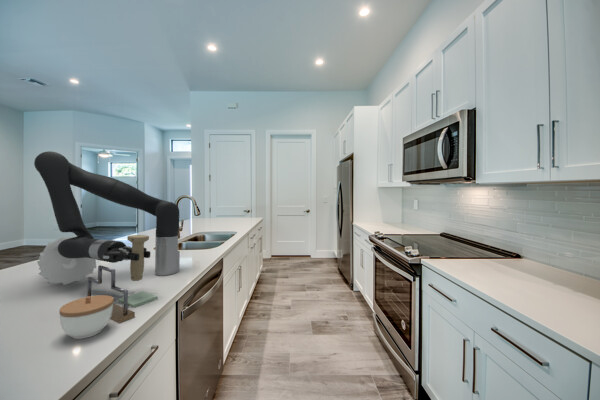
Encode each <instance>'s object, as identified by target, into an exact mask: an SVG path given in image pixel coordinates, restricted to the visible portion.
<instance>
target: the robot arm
mask: <svg viewBox="0 0 600 400" xmlns="http://www.w3.org/2000/svg"><path fill="white" fill-rule="evenodd" d="M33 164H34V165H33V166H34V168H35V170H36V171H37V172H38V173H39V175H40V176H41V178H42V180H43V182H44V184H45V187H46V189H47V192H48V195H49V198H50V202H51V206H52V209H53V213H54V217H55V221H56V224H57V227H58V230H59V232H61V233H73V234H74V236H77V237H73V238H69V239H65V240H63V241H62V242H60V244H59V245H58V252H59V253H60V255H62V256H63V257H66V258H86V257H87V258H92V259H96V261H99V262H101V261H102V262H105V263H106V262H107V263H114V264H115V263H119V262H123V261H131V260H134V261H138V260H139V254H137V253H132V246H127V245H126V243H125V242H123V241H121V240H113V239H100V238H99V239H98V238H94V236H93V235H92V234H91V232H90V231H89V229H88V227H86V224H85V223H84V220H83V217H82V214H81V210H80V208H79V205H78V202H77V200H76V198H75V194H74V193H73V191H72V186H74V187H77V188H78V189H79V188H80V189H82V190H84V191H85V192H88V193H91V194H92V195H95V196H97V197H98V198H99V197H100V198H102V199H104V200H107V201H109V202H112V203H115V204H117V205H120V206H124V207H128V208H131V209H136V210H140V211H143V212H145V213H149V214H150V215H153V217H156V219H155V220H156V224H155V247H154V248H155V249H154V250H155V254H154V255H155V260H154V262H155V263H154V271H155V272H154V274H155V275H156V276H170V275H174V274H176V273H177V272H180V260H181V258H180V257H181V255H180V254H181V253H180V250H179V229H180V208H179V207H178V205H177V204H176V203H174V202H172V201H166V200H163V199H160V198H158V197H154V196H152V195H149V194H147V193H146V192H143V191H142V190H140V189H138V188H136V187H135V186H133V185H131V184H129V183H127V182H124V181H121V180H118V179H117V178H114V177H111V176H106V175H103V174H99V173H94V172H91V171H88V170H85V169H83V168H81V167H79V166H77V165H74V164H73V163H71V162H69V160H68V159H67V158H66V157H65V156H64V155H62V154H61V153H59V152H56V151H51V150H49V151H44V152H41V153H39V154H38V155H37V156H36V157H35V158H34V163H33ZM145 258H146V259H149V258H151V251H149V250H148V249H147V248H146V247H144V259H145Z"/></svg>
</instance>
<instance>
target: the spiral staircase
mask: <svg viewBox="0 0 600 400" xmlns="http://www.w3.org/2000/svg"><path fill="white" fill-rule="evenodd" d="M73 237H77V236H76V235H74V236H67V237H65V236H63V235H62V236H61V237H59V238H56V239H55V240H53V241H48V243H47V245H46V246H45V247H44V249H43V251H42V252H40V253H39V255H40V256H38V259H39V260H38V261H36V262H37V264H38V266H39V268H38V271H39V270H40V272H38V275H40V276H42V277H43V278H45V279H47V280H48V282H47V283H48V284H49V283H50V284H62V285H63V286H66V285H69V284H71V283H74V282H76V281H77V282H82V280H83V279H85V277H87V275H88V274H90V275H91V274H93V272H94V271H95V269H96V268H97V260H96V259H92V258H87V257H86V258H66V257H63V256H62V255H60V253H59V252H58V245H59V244H60V242H62V241H63V240H65V239H69V238H73Z"/></svg>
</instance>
